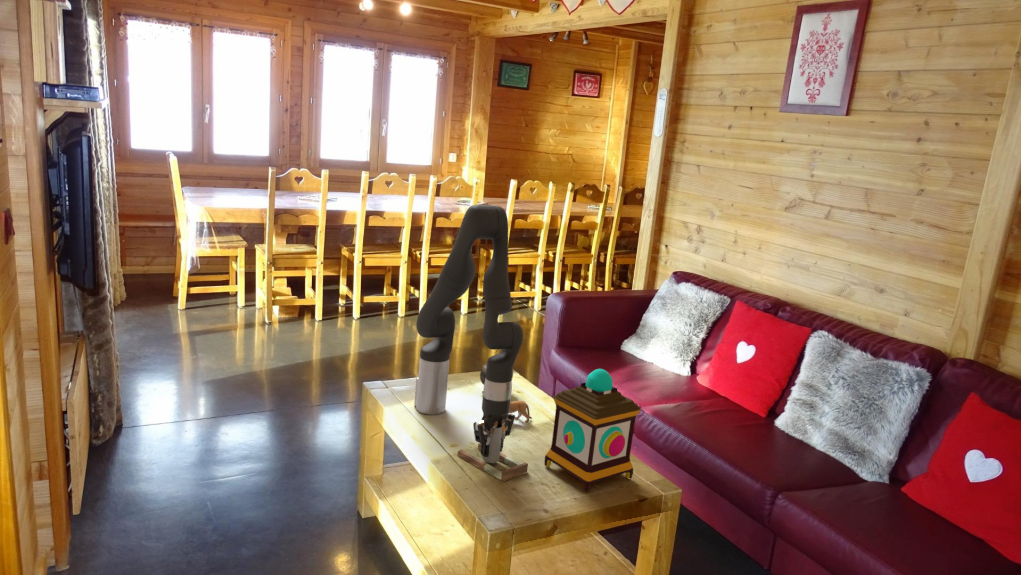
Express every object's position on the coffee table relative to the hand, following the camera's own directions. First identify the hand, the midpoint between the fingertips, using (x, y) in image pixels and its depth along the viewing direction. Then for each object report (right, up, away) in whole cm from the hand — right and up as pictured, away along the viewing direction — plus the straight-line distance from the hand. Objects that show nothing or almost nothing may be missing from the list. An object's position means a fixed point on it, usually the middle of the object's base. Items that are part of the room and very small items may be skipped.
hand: (491, 453), depth 200 cm
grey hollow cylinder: (0, -2, +1) cm, 2 cm away
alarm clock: (0, +9, +52) cm, 53 cm away
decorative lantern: (+26, -6, +1) cm, 27 cm away
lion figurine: (+5, +3, +30) cm, 30 cm away
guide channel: (0, -3, +1) cm, 3 cm away
